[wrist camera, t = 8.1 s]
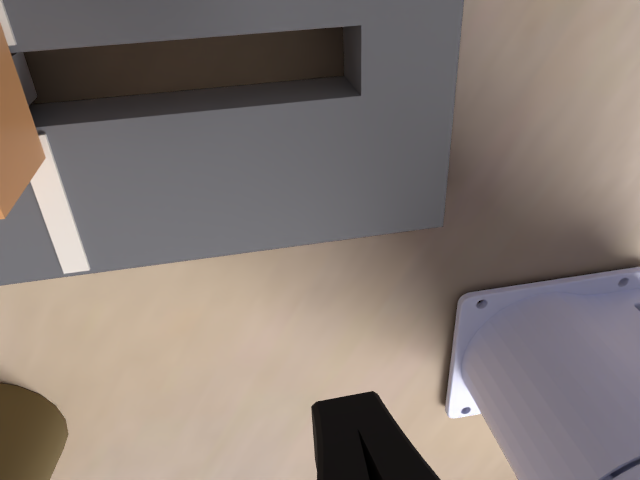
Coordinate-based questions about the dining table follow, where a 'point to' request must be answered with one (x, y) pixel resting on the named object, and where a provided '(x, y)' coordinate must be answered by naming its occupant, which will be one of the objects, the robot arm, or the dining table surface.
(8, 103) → the fader tab
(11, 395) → the olive tapered knobbed piece
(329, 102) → the console board
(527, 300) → the robot arm
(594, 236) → the dining table surface
